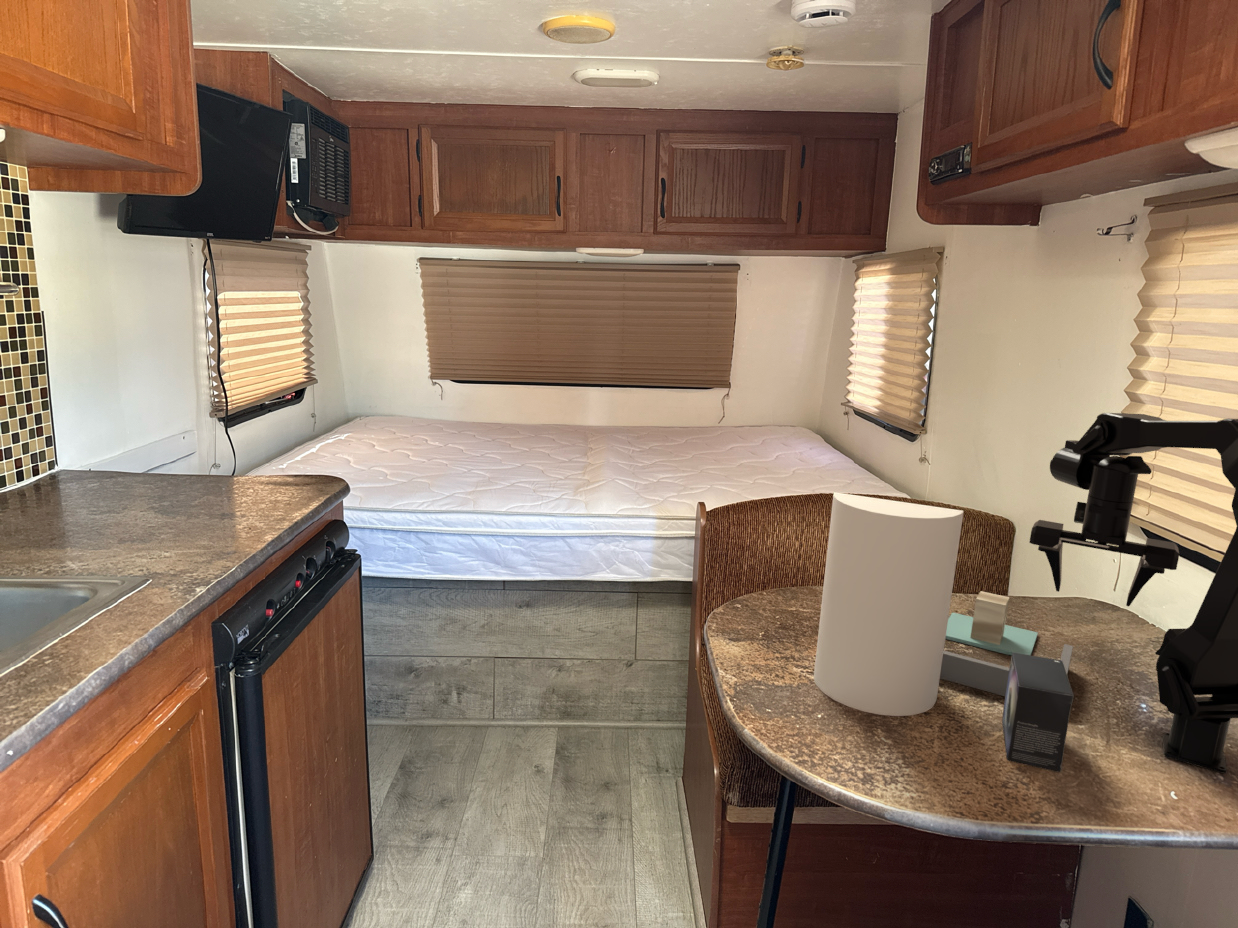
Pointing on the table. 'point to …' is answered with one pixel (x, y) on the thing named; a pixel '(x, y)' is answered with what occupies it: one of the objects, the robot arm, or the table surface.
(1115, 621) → the table surface
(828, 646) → the cylinder
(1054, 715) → the small box
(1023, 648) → the teal mat
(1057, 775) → the table surface
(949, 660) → the grey l-shaped bracket
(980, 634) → the cream block
